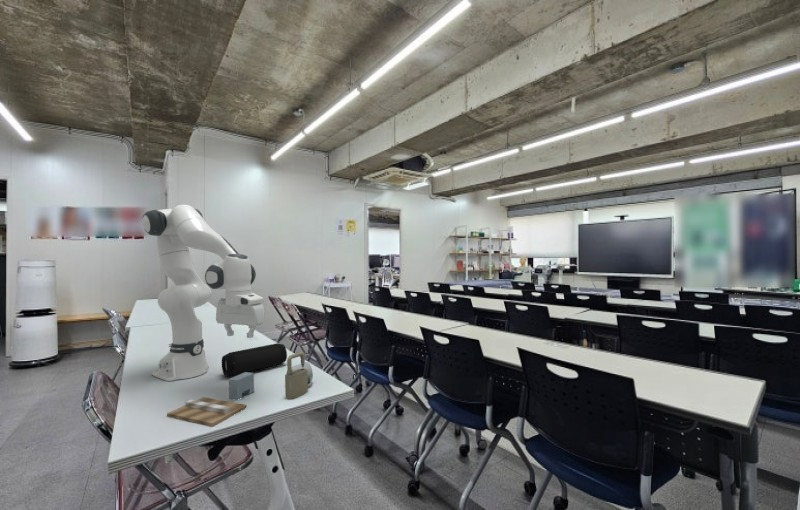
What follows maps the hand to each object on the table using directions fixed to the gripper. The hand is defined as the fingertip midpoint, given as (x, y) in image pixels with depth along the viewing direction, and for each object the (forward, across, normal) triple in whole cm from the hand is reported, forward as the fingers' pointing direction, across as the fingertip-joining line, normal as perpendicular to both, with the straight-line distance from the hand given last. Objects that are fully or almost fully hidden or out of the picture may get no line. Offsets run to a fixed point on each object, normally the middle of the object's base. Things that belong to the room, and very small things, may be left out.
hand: (240, 336), depth 125 cm
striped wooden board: (+21, 0, -14) cm, 26 cm away
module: (+22, 0, 0) cm, 22 cm away
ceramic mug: (+22, +14, +16) cm, 31 cm away
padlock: (+22, +19, +7) cm, 30 cm away
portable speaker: (+22, -16, +23) cm, 36 cm away
